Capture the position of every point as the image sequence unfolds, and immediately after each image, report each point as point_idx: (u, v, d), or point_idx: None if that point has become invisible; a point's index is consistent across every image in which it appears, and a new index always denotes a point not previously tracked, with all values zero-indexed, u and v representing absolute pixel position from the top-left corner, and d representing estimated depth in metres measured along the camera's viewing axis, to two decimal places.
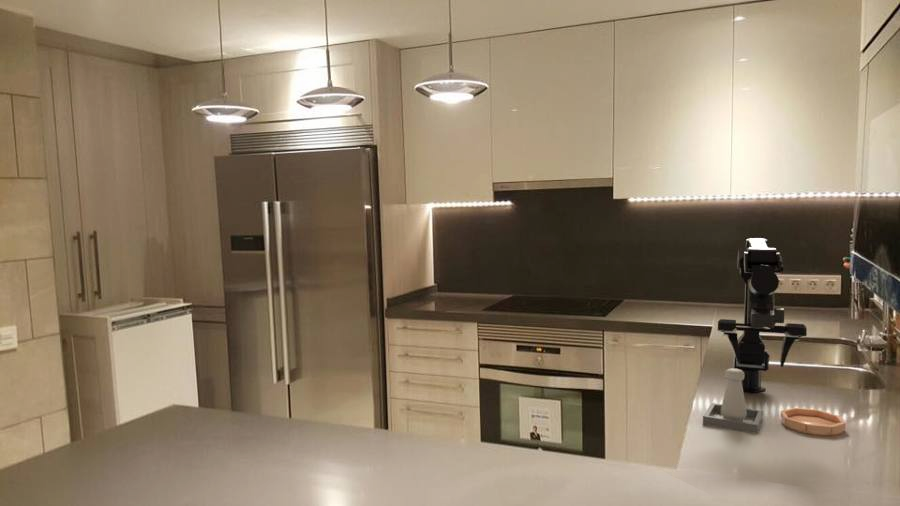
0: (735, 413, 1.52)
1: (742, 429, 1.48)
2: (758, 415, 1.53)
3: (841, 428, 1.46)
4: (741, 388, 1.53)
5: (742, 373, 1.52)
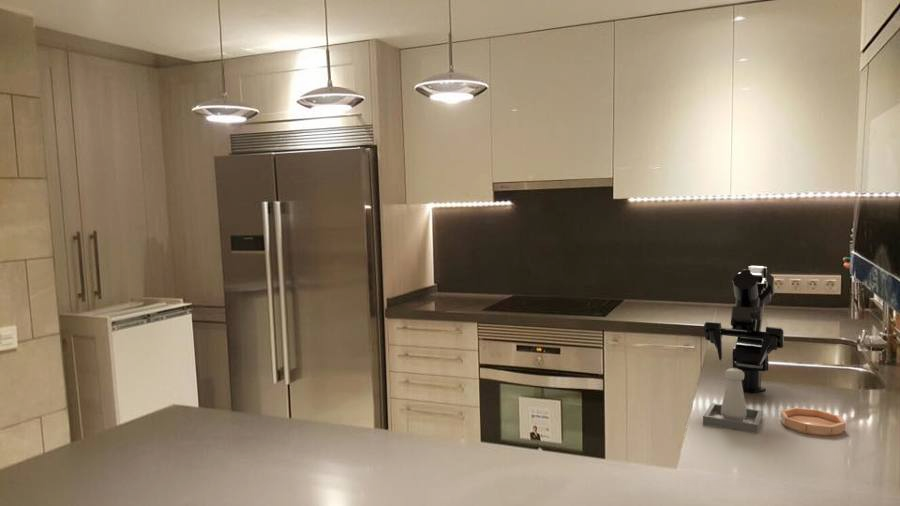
0: (735, 413, 1.52)
1: (742, 429, 1.48)
2: (758, 415, 1.53)
3: (841, 428, 1.46)
4: (741, 388, 1.53)
5: (742, 373, 1.52)
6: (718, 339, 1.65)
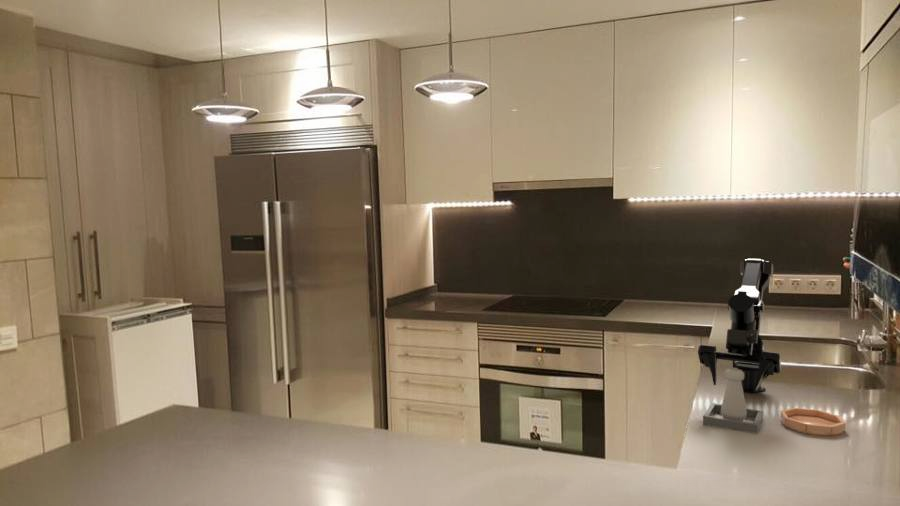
0: (735, 413, 1.52)
1: (742, 429, 1.48)
2: (758, 415, 1.53)
3: (841, 428, 1.46)
4: (741, 388, 1.53)
5: (742, 373, 1.52)
6: (713, 363, 1.59)
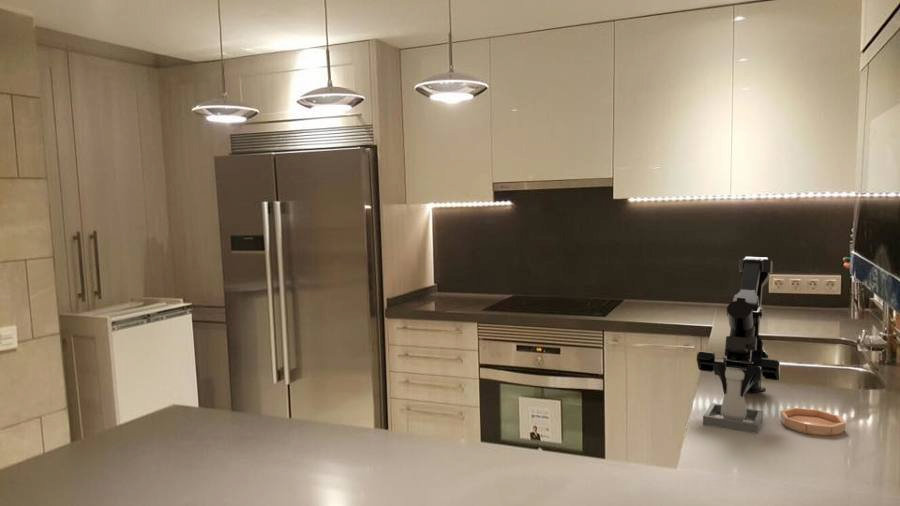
0: (735, 413, 1.52)
1: (742, 429, 1.48)
2: (758, 415, 1.53)
3: (841, 428, 1.46)
4: (741, 388, 1.53)
5: (742, 373, 1.52)
6: (723, 371, 1.56)
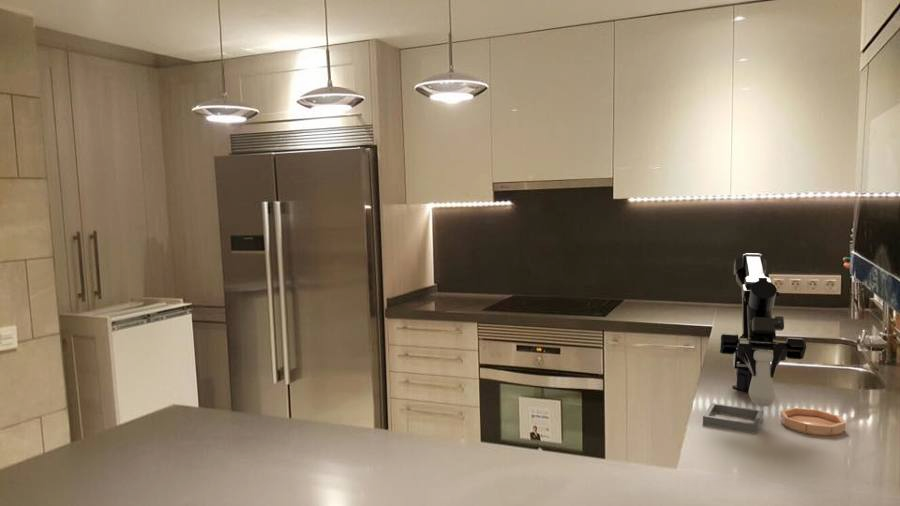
0: (766, 395, 1.49)
1: (742, 429, 1.48)
2: (758, 415, 1.53)
3: (841, 428, 1.46)
4: (770, 369, 1.51)
5: (772, 354, 1.50)
6: (750, 353, 1.53)
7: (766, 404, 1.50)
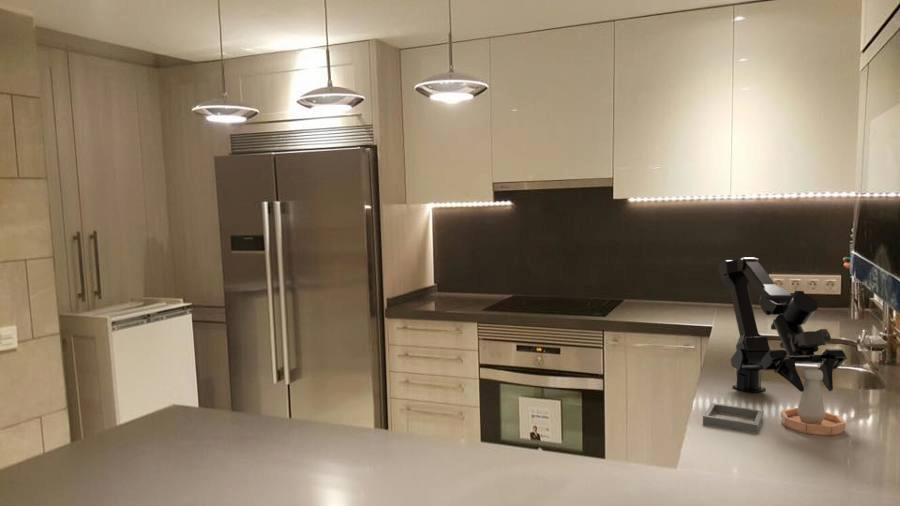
0: (821, 414, 1.49)
1: (742, 429, 1.48)
2: (758, 415, 1.53)
3: (841, 428, 1.46)
4: None
5: (821, 372, 1.50)
6: (793, 368, 1.51)
7: (819, 423, 1.50)
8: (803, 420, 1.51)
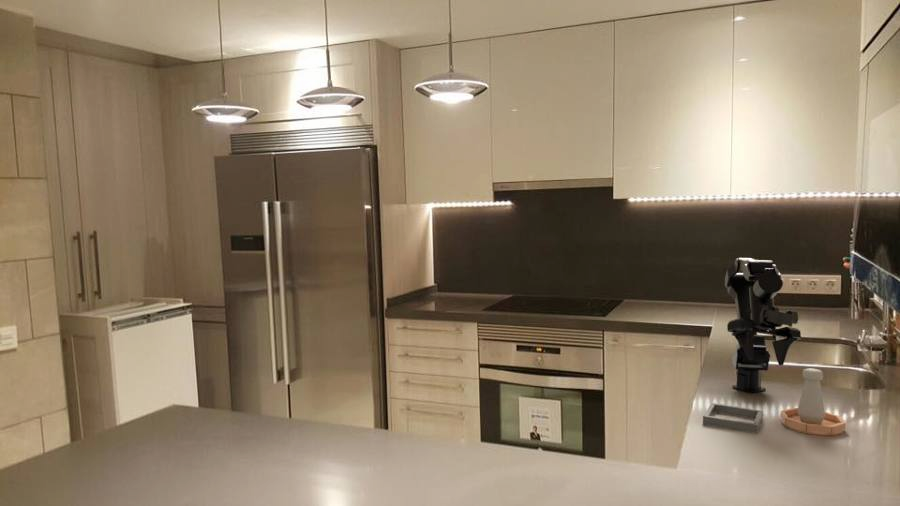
0: (821, 414, 1.49)
1: (742, 429, 1.48)
2: (758, 415, 1.53)
3: (841, 428, 1.46)
4: None
5: (821, 372, 1.50)
6: (751, 338, 1.61)
7: (819, 423, 1.50)
8: (803, 420, 1.51)
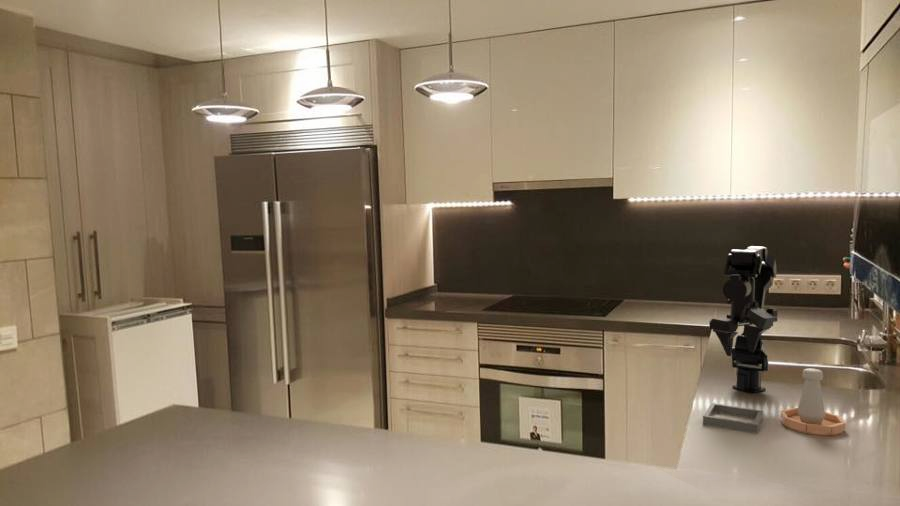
0: (821, 414, 1.49)
1: (742, 429, 1.48)
2: (758, 415, 1.53)
3: (841, 428, 1.46)
4: None
5: (822, 372, 1.50)
6: (732, 338, 1.65)
7: (819, 423, 1.50)
8: (803, 420, 1.51)
